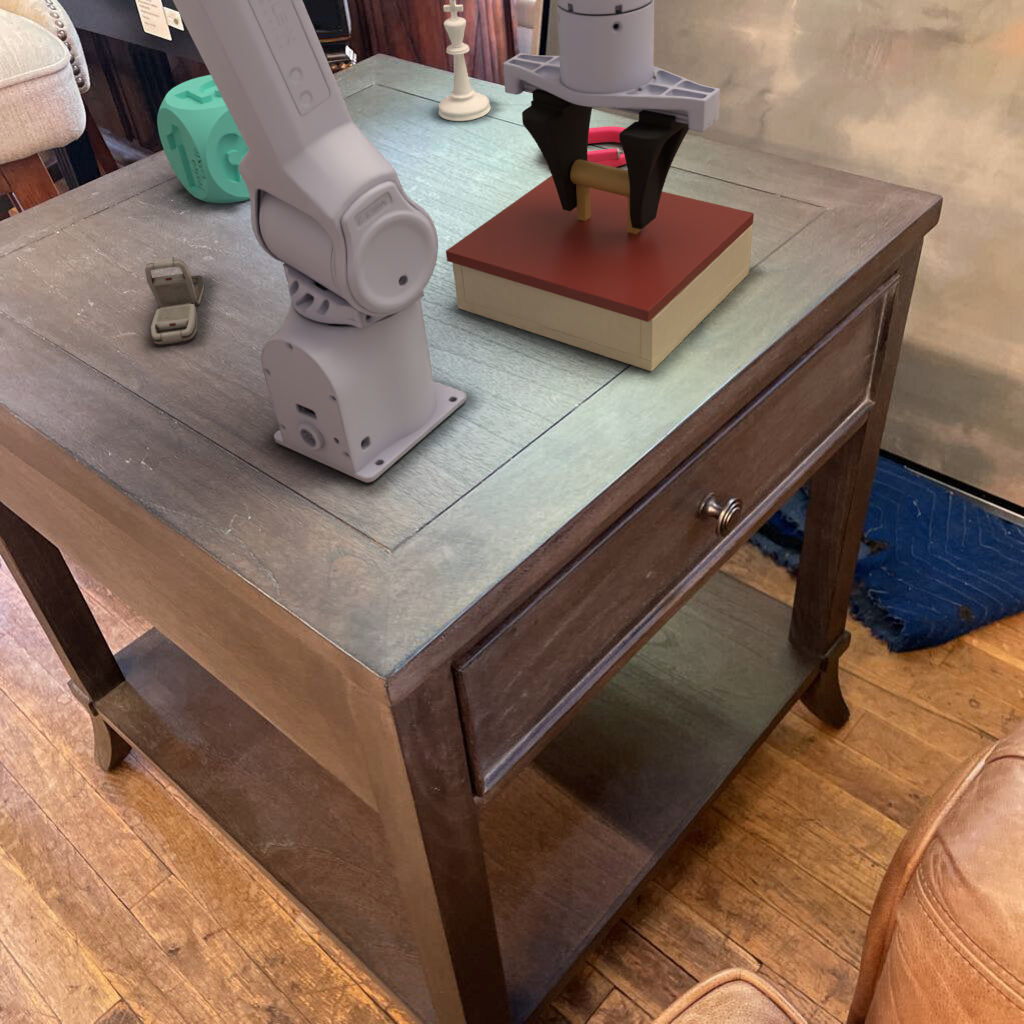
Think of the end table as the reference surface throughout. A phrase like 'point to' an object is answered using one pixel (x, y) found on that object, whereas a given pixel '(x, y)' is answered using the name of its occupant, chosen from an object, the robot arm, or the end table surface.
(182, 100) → the decorative dice
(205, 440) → the end table surface
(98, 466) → the end table surface
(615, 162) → the fitness band
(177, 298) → the strap clip
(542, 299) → the hinged lid box
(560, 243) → the cover
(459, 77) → the chess piece
